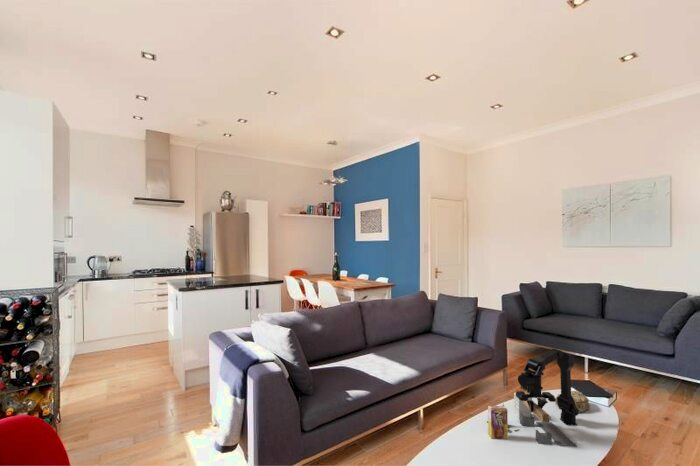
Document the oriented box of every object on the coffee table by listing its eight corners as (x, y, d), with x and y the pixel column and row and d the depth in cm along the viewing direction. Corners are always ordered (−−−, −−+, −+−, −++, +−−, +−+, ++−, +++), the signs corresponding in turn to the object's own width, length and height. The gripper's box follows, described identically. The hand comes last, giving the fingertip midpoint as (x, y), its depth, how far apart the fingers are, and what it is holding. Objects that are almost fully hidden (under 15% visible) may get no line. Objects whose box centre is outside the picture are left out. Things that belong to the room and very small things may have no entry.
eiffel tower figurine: (485, 422, 189) (485, 399, 189) (496, 418, 194) (496, 395, 194) (509, 436, 176) (509, 410, 176) (520, 430, 181) (520, 406, 181)
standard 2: (548, 440, 171) (548, 430, 172) (551, 444, 168) (551, 433, 169) (535, 440, 172) (535, 429, 172) (538, 443, 168) (538, 433, 169)
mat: (551, 422, 189) (551, 422, 189) (577, 446, 167) (577, 446, 167) (535, 422, 189) (535, 421, 189) (559, 446, 167) (559, 445, 167)
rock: (575, 418, 197) (569, 400, 199) (553, 412, 210) (548, 395, 212) (597, 408, 204) (592, 391, 206) (575, 403, 217) (570, 387, 219)
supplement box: (526, 413, 198) (526, 392, 199) (531, 420, 191) (531, 398, 191) (513, 413, 199) (513, 392, 199) (518, 419, 192) (518, 397, 192)
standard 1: (531, 423, 187) (531, 414, 188) (534, 426, 184) (534, 416, 185) (519, 423, 187) (520, 413, 188) (522, 426, 184) (522, 416, 185)
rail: (528, 402, 188) (528, 396, 188) (549, 422, 168) (549, 415, 168) (522, 402, 188) (522, 396, 188) (542, 421, 168) (542, 415, 168)
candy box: (504, 434, 176) (504, 405, 177) (507, 439, 172) (508, 409, 172) (487, 433, 176) (487, 405, 177) (491, 438, 172) (491, 409, 172)
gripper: (543, 377, 187) (543, 405, 186) (511, 376, 187) (510, 404, 186) (555, 386, 175) (555, 415, 175) (521, 385, 176) (520, 414, 175)
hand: (535, 412), depth 178 cm, fingers closed on rail, 3 cm apart
